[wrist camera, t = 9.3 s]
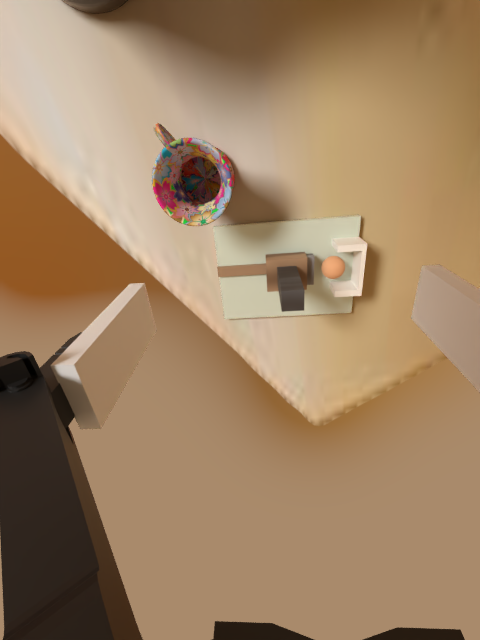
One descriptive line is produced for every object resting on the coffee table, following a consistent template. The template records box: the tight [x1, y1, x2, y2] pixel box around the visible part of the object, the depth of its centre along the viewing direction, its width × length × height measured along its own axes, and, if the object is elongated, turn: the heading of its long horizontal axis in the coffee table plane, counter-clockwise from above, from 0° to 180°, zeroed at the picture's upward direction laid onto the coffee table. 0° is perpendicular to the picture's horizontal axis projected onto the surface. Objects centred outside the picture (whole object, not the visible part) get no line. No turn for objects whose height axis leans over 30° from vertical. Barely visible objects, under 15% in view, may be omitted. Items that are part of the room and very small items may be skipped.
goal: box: [329, 237, 367, 297], centre depth 46 cm, size 8×4×4 cm, turn 5°
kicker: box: [266, 252, 315, 312], centre depth 43 cm, size 5×7×12 cm
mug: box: [152, 123, 234, 226], centre depth 39 cm, size 12×9×11 cm
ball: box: [321, 256, 345, 279], centre depth 47 cm, size 4×4×4 cm
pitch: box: [213, 215, 361, 319], centre depth 50 cm, size 16×22×2 cm
